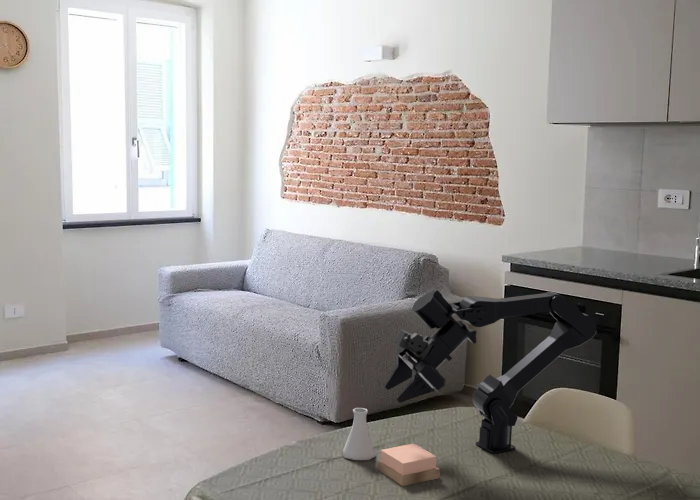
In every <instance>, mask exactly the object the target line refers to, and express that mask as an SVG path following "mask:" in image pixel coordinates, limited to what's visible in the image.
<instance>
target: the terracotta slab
mask: <svg viewBox="0 0 700 500" xmlns="http://www.w3.org/2000/svg"><path fill="white" fill-rule="evenodd" d="M380 460H381V462H382V463H383V464H385V465H386V466H388V467H390V468H391V469H393V470H394V471H396V472H397V473H399V474H401V475H402V476H404V475H409V474H413V473H418V472H422V471H427V470H431V469H436V467H437V456H436V455H435V454H432V453H431V452H429V451H427V450H425V448H423V447H421V446H419V445H417V444H416V443H408V444H403V445H399V446H393V447H390V448H385V449H380Z"/></svg>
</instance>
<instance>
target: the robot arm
mask: <svg viewBox="0 0 700 500" xmlns="http://www.w3.org/2000/svg"><path fill="white" fill-rule="evenodd" d="M411 308H412V309H411V310H412V311H413V313H414V314H415V315H416V316H417V317H418V318H419V319H420V320H421V321H422V322H423V323H424V324H425V325H426V327H427V328H429V329H431V330H432V329H436V331H435V332H433V334H432V335H431V336H430V335H428V334H426V335H424V336H423V335H421V334H418V333H417V332H414V333H411V332H409V331H406V330H404V329H403V328H400V330H399V332H398V334H397V335H396V338H395V340H394V343H395V344H397V345H398V347H397V348H396V349H395V352H396V353H394V357H395V361H396V362H395V363H396V364H395V366H394V368H393V370H392V372H391V374H390V376H389V378H388V379H387V381H386V382H385V384H384V388H385V390H387V391H389V390H391V389H393V388H395V387H397V386H399V385H400V384H402V383H404V382H406V381H408V380H409V379H410V381H409V382H408V383H407V384H406V385H405V386H404V388H403V389H402V391H400V393H399V394H398V396H397V397H396V401H397V402H398V404H402V403H405V402H406V401H409V400H412V399H415V398H418V397H420V396H423V395H426V394H431V393H435V392H436V391H437V392H438V393H439V392H441V390H442V389H444V387H446V378H445V377H443V375H441V373H440V372H439V371H438V368H439V367H440V366H441V365H442V364H443V363H444V362H445V361H448V362H450V361H452V359H453V358H452V356H451V355H453V353H454V352H455V351H456V350H457V349H458V348H459V347H460V346H461V345H462V344H463V343H464V342H465V341H468V342H471V343H472V344H477V330H475V329H473V328H469V327H468V325H466V324H465V322H466V323H468V324H469V325H471V326H472V327H475V328H483V327H487V326H489V325H492V324H495V323H497V322H499V321H500V320H503V319H507V318H512V317H520V316H528V315H536V314H544V313H550V315H551V316H552V318H554V319H555V320H556V321H555V323H554V324H553V325H554V326H553V328H552V330H551V332H550V334H549V335H548V336H547V337H546V338H545V339H544V340H542V341H541V342H540V343H539V344H538V345H536V346H535V348H533V349H532V350H531V351H530V352H529V353H528V354H527V355H525V356H524V357H523V358H521V359H520V360H519V361H518V362H517V363H516V364H515V365H514V366H512V367H511V368H510V369H509V370H508V371H507V372H506V373H504V374H503V375H501V376H498V377H496V376H494V375H492V374H489V375H487V376H486V377H485V379H484V380H483V381H481V382H480V383H477V384H476V385H475V386H476V388H475V389H474V391H473V392H472V403H473V405H474V407H475V408H477V410H478V412H479V415H480V416H482V417H483V419H481V424H480V428H479V441H475V445H476V446H478V447H480V448H482V449H484V450H486V451H488V452H490V453H492V454H499V453H504V452H509V451H512V450H516V448H517V447H516V446H515V445H514V444H512V435H513V433H512V432H513V427H515V425H516V423H517V421H518V418H519V417H518V416H517V414H516V413H515V412H513V410H511V407H512V406H513V405H514V402H515V400H516V398H517V395H518V394H519V392H520V391H521V390H522V389H523V388H524V387H525V386H526V385H528V384H529V383H530V382H531V381H533V379H535V378H536V377H538V375H539V374H540V373H542V372H543V371H544V370H545V369H546V368H547V367H549V366H550V365H551V364H552V363H553V362H554V361H555V360H557V359H558V358H559V357H560V356H561V355H562V354H564V352H566V351H568V350H571V349H574V348H578V347H580V346H582V345H584V344H585V343H587V342H588V341H590V340H592V339H593V338H594V337H595V335H596V334H597V327H598V326H597V322H596V320H595V318H594V317H592V316H591V315H589V314H586V313H584V312H582V311H580V310H579V309H578V308H577V307H575V306H574V305H572V303H570V302H568V300H566V299H565V298H564V297H563V295H562V294H559V293H556V292H554V291H546V292H544V293H542V292H541V293H536V294H527V295H517V296H511V297H503V298H493V297H489V296H488V297H487V296H474V295H470V296H469V295H468V296H465V297H463V298H462V299H461V301H456V302H448V301H447V300H446V299H445V298H444V296H443V294H442V293H441V292H440V291H439V290H438V289H436V288H434V289H432V290H431V291H429V292H426V293H425V294H423V295H422V296H420V297H418V298H417V299H416V301H415V302H414V303H413V305H412V307H411ZM453 316H454V317H456V318H458V319H460V320H456V319H455V318H454V317H453ZM418 372H419V373H418Z"/></svg>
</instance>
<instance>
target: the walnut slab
mask: <svg viewBox="0 0 700 500" xmlns="http://www.w3.org/2000/svg"><path fill="white" fill-rule="evenodd" d="M377 470H378V471H379V472H381V473H382V474H383V473H384V476H387V477H388V478H389V477H390V478H389V479H391V480H392V479H393V481H394V482H395V481H396V482H395V483H397V484H398V485H400V486H401V487H404V486H408V485H413V484H418V483H422V482H428V481H432V480H436V479H437V480H438V479H440V476H441V468H439V467H438V466H436V469H431V470H427V471H422V472H418V473H413V474H409V475H404V476H402V475H401V474H399V473H397V472H396V471H394V470H393V469H391V468H390V467H388V466H386V465H385V464H383V463H382V462H381V459H380V460H378V461H377Z"/></svg>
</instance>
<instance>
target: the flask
mask: <svg viewBox="0 0 700 500" xmlns="http://www.w3.org/2000/svg"><path fill="white" fill-rule="evenodd" d="M368 412H369V411H368V409H367V408H364V407H355V408H353V409H352V413H353V422H352V427H351V430H350V432H349V434H348V437H347V439H346V442H345V445H344V447H343V450H342V452H341V453H342V457H343V458H345V459H347V460H348V459H349V460H353V461H370V460H372V459H373V458H375V457H376V453H375V450H374V447H373V446H374V445H373V443H372V440H371V437H370V433H369V430H368V423H367V414H368Z"/></svg>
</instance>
